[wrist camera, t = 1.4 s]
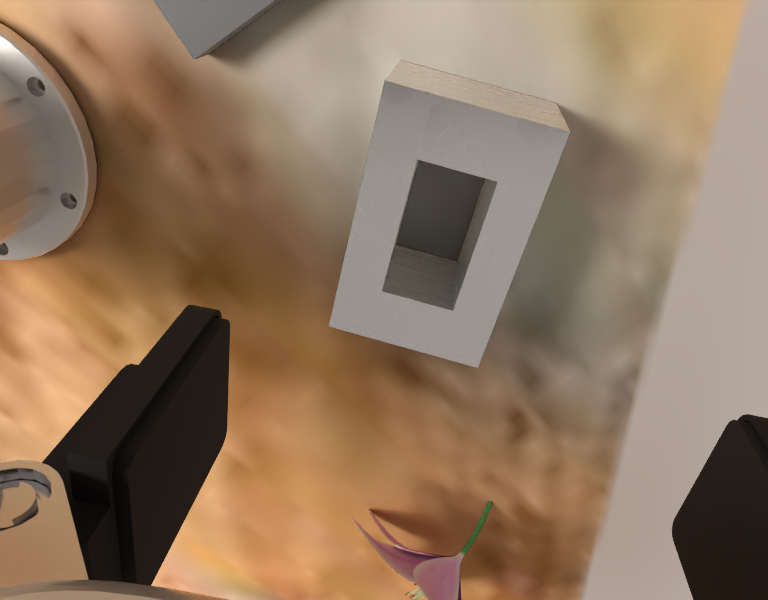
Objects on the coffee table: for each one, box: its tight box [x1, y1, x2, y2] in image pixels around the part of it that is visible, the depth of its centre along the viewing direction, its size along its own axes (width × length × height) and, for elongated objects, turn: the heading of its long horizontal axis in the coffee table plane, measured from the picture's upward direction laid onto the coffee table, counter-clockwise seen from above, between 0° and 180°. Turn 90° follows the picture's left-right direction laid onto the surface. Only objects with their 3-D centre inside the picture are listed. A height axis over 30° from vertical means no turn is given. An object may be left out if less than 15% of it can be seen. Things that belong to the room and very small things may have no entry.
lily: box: [352, 502, 493, 600], centre depth 37 cm, size 12×12×10 cm
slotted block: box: [329, 60, 570, 368], centre depth 27 cm, size 11×7×5 cm, turn 167°
